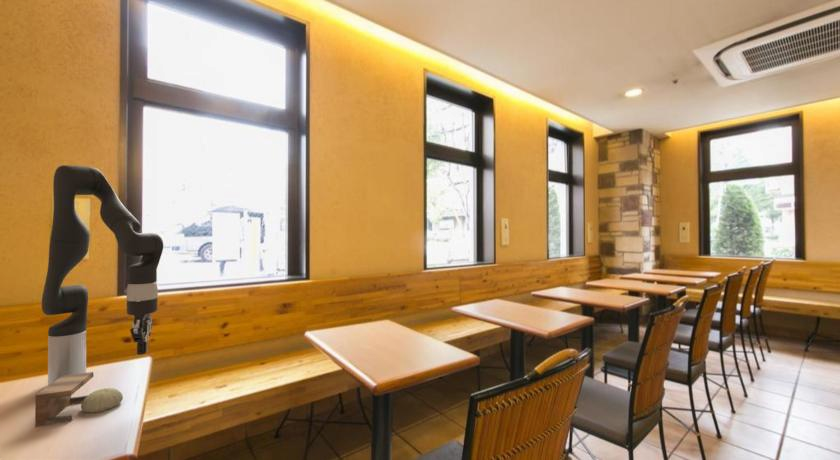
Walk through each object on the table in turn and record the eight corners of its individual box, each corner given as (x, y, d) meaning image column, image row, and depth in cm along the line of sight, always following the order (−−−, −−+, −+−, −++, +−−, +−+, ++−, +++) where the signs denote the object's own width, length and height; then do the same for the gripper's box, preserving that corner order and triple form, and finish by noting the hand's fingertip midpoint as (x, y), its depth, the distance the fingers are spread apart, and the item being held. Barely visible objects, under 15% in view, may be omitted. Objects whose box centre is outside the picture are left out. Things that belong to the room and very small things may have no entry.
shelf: (62, 403, 106) (62, 375, 106) (93, 399, 109) (93, 371, 109) (35, 427, 93) (35, 395, 94) (70, 421, 96) (70, 390, 96)
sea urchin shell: (100, 410, 99) (84, 388, 100) (85, 427, 100) (69, 405, 101) (133, 395, 108) (118, 375, 109) (118, 411, 109) (103, 391, 110)
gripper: (134, 294, 113) (134, 348, 113) (118, 302, 101) (118, 362, 101) (163, 293, 116) (162, 345, 116) (150, 300, 104) (150, 359, 104)
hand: (142, 353), depth 108 cm, fingers closed
